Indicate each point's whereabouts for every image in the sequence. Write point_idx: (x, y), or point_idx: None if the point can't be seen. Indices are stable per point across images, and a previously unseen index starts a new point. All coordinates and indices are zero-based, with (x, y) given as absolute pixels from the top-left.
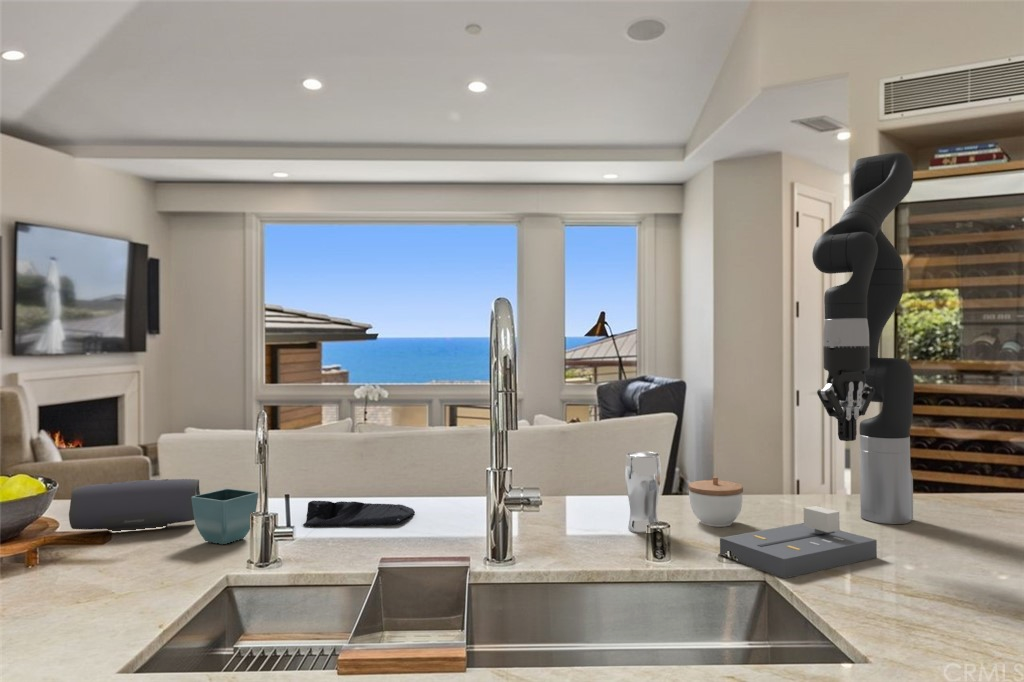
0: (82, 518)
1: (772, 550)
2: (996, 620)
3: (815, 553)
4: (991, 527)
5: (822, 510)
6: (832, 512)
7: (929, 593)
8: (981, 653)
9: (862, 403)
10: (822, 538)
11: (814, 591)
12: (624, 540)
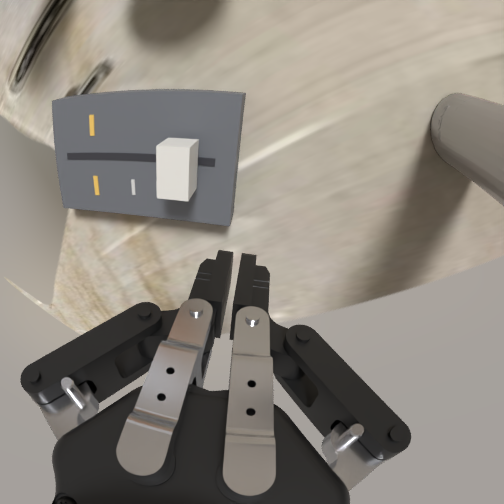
0: None
1: (70, 178)
2: None
3: (107, 211)
4: (483, 244)
5: (168, 179)
6: (172, 198)
7: (167, 295)
8: None
9: (301, 401)
10: None
11: (79, 235)
12: (29, 3)
